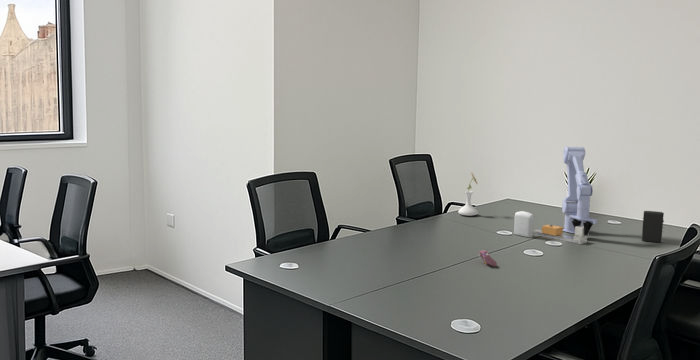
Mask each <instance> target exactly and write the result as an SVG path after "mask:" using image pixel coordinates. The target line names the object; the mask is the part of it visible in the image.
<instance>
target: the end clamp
mask: <svg viewBox="0 0 700 360" xmlns="http://www.w3.org/2000/svg"><path fill="white" fill-rule="evenodd" d="M541 227H542V228H541V230H542V233H546V234H550V235H555V236H556V235H560V234H562V235H564V234H563V233H564V231H563V229H564V227H563V226H557V225H553V224H545V225H542V226H541Z"/></svg>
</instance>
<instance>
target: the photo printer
mask: <svg viewBox="0 0 700 360" xmlns="http://www.w3.org/2000/svg"><path fill="white" fill-rule="evenodd" d="M513 221H514V223H513V235H516V236H521V237H525V238H533V237H534V234H533V230H535V229H534V227H535V225H534V223H535V216H534V215H533V214H532V213H531V212H528V211H523V210H522V211H521V210H520V211H516V212H515V214H514V220H513Z"/></svg>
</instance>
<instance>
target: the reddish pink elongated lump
mask: <svg viewBox="0 0 700 360" xmlns="http://www.w3.org/2000/svg"><path fill="white" fill-rule="evenodd" d="M478 257H479V258H481V259H482V261H483V262H484V264H485V265H486V266H487V265H490V266H491V267H497V266H498V264H497V261H496V260H494V259H493V257H491V256H490V254H489V252H488V251H487V250H485V249H483V250H480V251H478Z"/></svg>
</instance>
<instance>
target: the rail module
mask: <svg viewBox="0 0 700 360" xmlns="http://www.w3.org/2000/svg"><path fill="white" fill-rule="evenodd" d="M579 234H583V235H584V225H580V226H576V227H575V233H574V236H575V235H579ZM589 234H590V233H588V236H587V239H589Z"/></svg>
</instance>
